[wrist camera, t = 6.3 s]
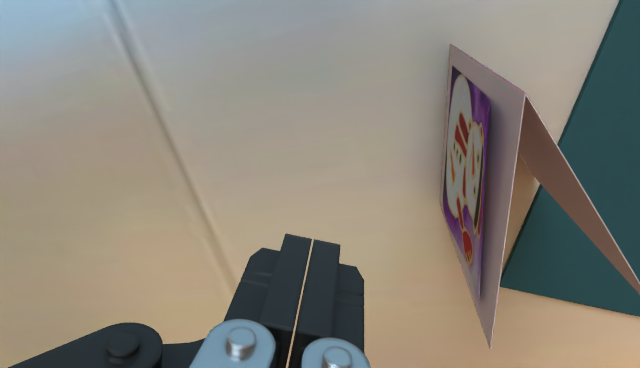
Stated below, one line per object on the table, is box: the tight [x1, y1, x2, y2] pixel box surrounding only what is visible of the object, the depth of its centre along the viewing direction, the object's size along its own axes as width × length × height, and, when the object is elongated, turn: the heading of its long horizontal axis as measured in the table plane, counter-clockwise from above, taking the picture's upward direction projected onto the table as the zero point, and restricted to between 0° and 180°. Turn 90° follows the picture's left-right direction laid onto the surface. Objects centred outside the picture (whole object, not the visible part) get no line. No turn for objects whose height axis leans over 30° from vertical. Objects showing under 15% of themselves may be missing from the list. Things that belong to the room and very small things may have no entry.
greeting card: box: [440, 44, 640, 349], centre depth 24 cm, size 11×7×15 cm, turn 2°
